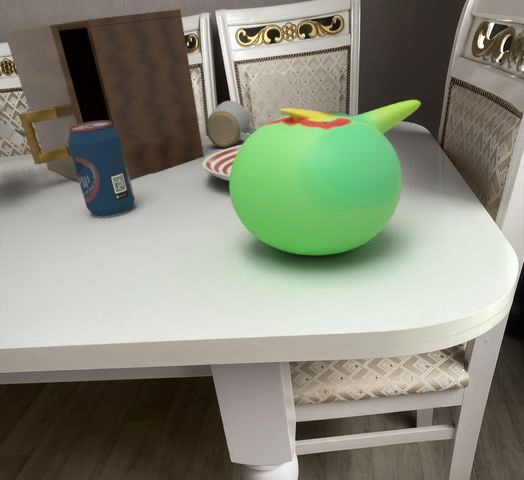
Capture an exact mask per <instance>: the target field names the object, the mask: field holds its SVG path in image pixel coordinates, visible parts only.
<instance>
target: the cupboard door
mask: <svg viewBox="0 0 524 480" xmlns="http://www.w3.org/2000/svg"><path fill="white" fill-rule="evenodd" d="M56 24H57V23H54V25H53V24H47V25H41V27H40V26H34V27H35V28H33V27H28V28H29V29H26V28H22V29H23V30H19V29H16V30H17V31H12V30H11V31H5V32H4V36H5V39H6V42H7V46H8V48H9V50H10V54H11V57H12V61H13V64H14V67H15V70H16V74H17V76H18V79H19V83H20V86H21V89H22V92H23V95H24V98H25V102H26V104H27V107H28V110H29V111H25V112H19V113H18V118H19V120H20V124H21V126H22V130H23V133H24V134H25V138H26V141H27V144H28V147H29V151H30V154H31V157H32V160H33V162H34V165H42V164H46V168H47V169H48V170H50V171H52V172H54V173H57V174H58V175H61V176H63V177H65V178H67V179H70V180H72V181H74V182H77V183H78V184H80V182H79V179H78V175H77V172H76V169H75V165H74V162H73V158H72V155H71V151H70V148H69V144H68V139H69V134H70V131H69V127H71V126H74V125H77V124H81V123H83V120H82V116H81V113H80V109H79V105H78V102H77V98H76V94H75V91H74V87H73V83H72V79H71V76H70V72H69V68H68V65H67V61H66V57H65V54H64V50H63V46H62V43H61V39H60V35H59V31H58V28H57V25H56Z"/></svg>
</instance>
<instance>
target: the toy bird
mask: <svg viewBox="0 0 524 480" xmlns="http://www.w3.org/2000/svg"><path fill="white" fill-rule="evenodd" d="M421 105H422V102H421V101H419V100H418V99H409V100H404V101H399V102H396V103H393V104H389V105H385V106H383V107H382V106H381V107H380V108H376V109H373V110H370V111H367V112H363V113H360V114H357V115H356V114H355V115H353V116H351V115H349V114H347V113H344V112H342V111H335V110H327V111H325V110H324V111H323V110H321V111H320V110H319V111H318V110H310V109H304V108H303V109H302V108H294V107H284V108H283V107H282V108H280V109H279V111H280V113H283V114H285V115H284V116H281V117H280V116H279V117H278V118H275V119H273V120H272V121H269V122H266V123H265V124H264V125H262V126H260V127H259V128H256V129H257V130H256V131H255V132H254V133H253V134H249V135H250V136H249V137H248V138H247V140H246V141H245V142H244V141H243V143H242V144H241V145H242V146H241V147H240V149H239V151H238V153H237V155H236V157H235V159H234V162H233V165H232V168H231V172H230V180H229V181H228V182H229V183H228V185H229V196H230V201H231V204H232V207H233V209H234V212H235V214H236V216H237V217H238V219H239V220H240V222H241V224H242V225H243V227H245V229H247V231H249V233H250V234H252V235H253V236H254V237H255V238H256V239H258V240H259V241H261V242H263V243H264V244H266V245H268V246H270V247H272V248H275V249H277V250H279V251H283V252H286V253H290V254H295V255H303V256H328V255H335V254H341V253H345V252H348V251H352V250H354V249H356V248H359V247H361V246H363V245H365V244H366V243H368V242H370V241H371V240H372V239H374V238H375V237H376V236H377V235H378V234H379V233H380V232H381V231H382V230H384V229H385V228H386V226H387V224H388V223H389V222H390V220H391V219H392V217H393V216H394V214H395V212H396V210H397V207H398V205H399V202H400V198H401V194H402V190H403V189H402V188H403V173H402V166H401V163H400V159H399V157H398V154H397V152H396V150H395V148H394V147H393V145H392V144H391V141H389V139H388V138H387V137H386V136H385V135H384V134H386V133H387V132H388V131H389V130H391V129H392V128H394V127H395V126H396V125H398V124H400V123H401V122H402V121H403V120H405V119H406V118H408V117H409V116H410V115H412V114H413V113H414V112H416V111H417V110H418V109H419V108H420V106H421Z"/></svg>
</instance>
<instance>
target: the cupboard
mask: <svg viewBox="0 0 524 480" xmlns="http://www.w3.org/2000/svg"><path fill="white" fill-rule="evenodd" d="M182 18H183V17H182V12H181V9H180V8H178V9H177V8H176V9H169V10H161V11H151V12H142V13H141V12H140V13H134V14H125V15H124V14H123V15H116V16H107V17H105V16H104V17H97V18H89V19H88V18H87V19H81V20H74V21H68V22H62V23H54V24H56V25H57V28H58V31H59V35H60V39H61V43H62V46H63V50H64V54H65V57H66V61H67V65H68V68H69V72H70V76H71V79H72V83H73V87H74V91H75V94H76V98H77V102H78V105H79V109H80V113H81V116H82V120H83V123H86V122H92V121H103V120H107V121H111V122H112V126H113V127H114V128H115V130H116V131H117V132H118V134H119V136H120V140H121V144H122V149H123V153H124V157H125V161H126V165H127V169H128V173H129V178H130V181H132V180H136V179H139V178H141V177H144V176H145V177H146V176H147V175H153V174H154V173H155V174H156V173H158V172H161V171H164V170H168V169H171V168H173V167H176V166H180V165H182V164H185V163H188V162H191V161H194V160H197V159H199V158H203V157H204V155H205V154H204V151H203V143H202V137H201V131H200V130H201V129H200V125H199V119H198V112H197V106H196V100H195V93H194V87H193V80H192V76H191V69H190V61H189V56H188V50H187V49H188V48H187V43H186V37H185V30H184V23H183V19H182ZM54 24H52V25H54ZM41 26H42V25H41ZM41 26H40V25H39V27H41ZM35 27H36V26H34V27H33V26H32V28H35ZM29 28H30V27H26V28H25V29H29ZM23 29H24V28H19V29H13V30H11V31H17V30H23Z"/></svg>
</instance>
